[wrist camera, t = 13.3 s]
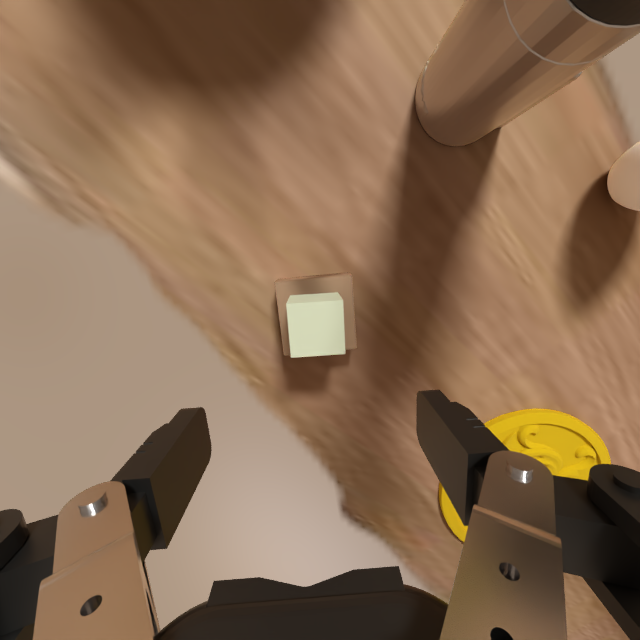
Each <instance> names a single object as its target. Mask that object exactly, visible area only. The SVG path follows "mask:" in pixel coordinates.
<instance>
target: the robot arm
mask: <svg viewBox="0 0 640 640" xmlns="http://www.w3.org/2000/svg"><path fill="white" fill-rule="evenodd" d="M639 33H640V0H465V2H464V4H463V5H462V7H461V9H460V10H459V12H458V13H457V15H456V17H455V18H454V20H453V21H452V23H451V25H450V26H449V28H448V29H447V31H446V33H445V34H444V36H443V38H442V39H441V41H440V42H439V44H438V46H437V47H436V49H435V50H434V52H433V54H432V55H431V57H430V59H429V60H428V62H427V63H426V65H425V67H424V69H423V71H422V73H421V75H420V77H419V80H418V83H417V87H416V95H415V103H416V111H417V115H418V118H419V121H420V123H421V125H422V127H423V129H424V130H425V131H426V132H427V133H428V135H429V136H431V137H432V138H433V139H435V140H436V141H437V142H440V143H442V144H444V145H449V146H464V145H467V144H470V143H473V142H475V141H477V140H478V139H480V138H482V137H483V136H485V135H486V134H488V133H489V132H491V131H492V130H494V129H495V128H501V127H503V126H504V125H506V124H507V123H509V122H510V121H512V120H513V119H515V118H516V117H518V116H520V115H521V114H523V113H524V112H526V111H527V110H529V109H530V108H532V107H534V106H535V105H537V104H538V103H540V102H541V101H543V100H544V99H546V98H547V97H549V96H551V95H552V94H554V93H555V92H557V91H558V90H560V89H561V88H563V87H564V86H566V85H568V84H569V83H571V82H572V81H574V80H575V79H577V78H578V77H579V76H580V74H581V73H582V71H583V70H585V69H586V68H588V67H589V66H591V65H592V64H594V63H595V62H597V61H598V60H600V59H601V58H603V57H604V56H606V55H607V54H609V53H610V52H612V51H613V50H614V49H616V48H617V47H619V46H621V45H622V44H624V43H625V42H626V41H628V40H630V39H631V38H633V37H634V36H636V35H637V34H639ZM417 436H418V440H419V444H420V446H421V448H422V450H423V452H424V453H425V455H426V457H427V459H428V461H429V463H430V464H431V466H432V468H433V470H434V472H435V473H436V475H437V477H438V479H439V481H440V483H441V484H442V486H443V488H444V490H445V492H446V494H447V495H448V497H449V499H450V501H451V503H452V505H453V506H454V508H455V510H456V512H457V514H458V515H459V517H460V519H461V521H462V523H463V525H464V526H468V529H467V533H466V537H465V541H464V545H463V549H462V553H461V557H460V561H459V565H458V569H457V573H456V577H455V581H454V584H453V588H452V592H451V596H450V600H449V604H447V603H445V602H444V601H442V600H441V599H439V598H437V597H436V596H434V595H432V594H430V593H428V592H426V591H424V590H421V589H418V588H415V587H412V586H409V585H404V584H403V581H402V577H401V573H400V569H399V566H395V567H382V568H370V569H357V570H352V571H349V572H346V573H344V574H341V575H338V576H336V577H333V578H330V579H328V580H325V581H322V582H320V583H317V584H315V585H312V586H308V587H301V586H296V585H292V584H287V583H283V582H278V581H274V580H269V579H264V578H260V577H258V578H246V579H233V580H221V581H214V582H213V586H212V589H211V592H210V596H209V599H208V601H206V602H204V603H202V604H199V605H197V606H195V607H193V608H192V609H190V610H188V611H187V612H185V613H183V614H182V615H180V616H179V617H177V618H176V619H175V620H173V621H172V622H171V623H169V624H168V625H167V626H166V627H164V628H163V629H162V630H161V631H160V627H159V623H158V618H157V613H156V608H155V604H154V600H153V595H152V591H151V586H150V581H149V576H148V572H147V567H146V564H145V558H146V556H147V554H148V553H149V551H150V550H156V549H167V547H168V545H169V543H170V541H171V539H172V537H173V535H174V533H175V531H176V529H177V527H178V525H179V523H180V521H181V518H182V516H183V514H184V512H185V510H186V508H187V506H188V504H189V502H190V500H191V498H192V496H193V494H194V492H195V490H196V488H197V485H198V484H199V481H200V479H201V477H202V475H203V473H204V471H205V469H206V467H207V465H208V463H209V461H210V457H211V440H210V435H209V429H208V424H207V418H206V413H205V410H204V409H203V408H202V407H200V408H188V409H187V408H186V409H181V410H179V412H178V413H177V414H176V415H175V416H174V418H173V419H172V420H171V421H170V422H169V423H168V424H164V425H163V426H162V427H160V428H159V429H157V430H156V431H154V432H153V433H152V434H151V435H150V436H149V437H148V438H147V440H146V441H145V442H144V444H143V445H141V446H140V448H139V449H138V450H137V451H136V454H133V456H132V457H131V458H130V459H129V460H128V461H127V462H126V464H125V465H124V466H123V467H122V468H121V469H120V471H119V472H118V473H117V474H116V475H115V476H114V477H113V479H112V480H111V481H110V482H104V483H101V484H98V485H95V486H92V487H90V488H88V489H86V490H84V491H83V492H81V493H79V494H78V495H76V496H75V497H74V498H72V499H71V500H70V501H69V502H68V503H67V504H66V505H65V506H64V507H63V508H62V510H61V511H60V513H59V515H56V516H52V517H49V518H46V519H43V520H39V521H36V522H32V523H29V524H26V522H25V520H24V517H23V514H22V512H21V511H20V510H17V509H9V510H3V511H0V640H567V627H566V610H565V594H564V578H563V572H565V573H569V574H573V575H578V576H582V577H583V578H584V580H585V581H586V582H587V584H588V585H589V586H590V588H591V589H592V590H593V592H594V593H595V594H596V596H597V597H598V598H599V599H600V601H601V602H602V603H603V605H604V606H605V607H606V609H607V610H608V611H609V613H610V614H611V615H612V617H613V618H614V619H615V620H616V622H617V623H618V624H619V626H620V627H621V628H622V630H623V631H624V632H625V634H626V635H627V636H628V637H629V639H630V640H640V472H638V471H635V470H632V469H629V468H626V467H623V466H618V465H613V464H598V465H594V466H593V467H591V469H590V471H589V477H588V480H582V479H575V478H569V477H562V476H556V475H552V473H551V472H550V470H549V469H548V468H547V467H546V466H545V465H544V464H542V463H541V462H540V461H538V460H536V459H534V458H533V457H530V456H528V455H526V454H523V453H519V452H514V451H510V450H509V449H508V448H507V447H506V446H505V445H504V444H503V443H502V442H501V441H500V440H499V439H498V438H497V437H496V436H495V435H494V434H493V433H492V432H491V431H490V430H489V429H488V428H487V427H485V425H484V424H483V423H482V422H481V421H480V420H478V418H477V417H476V416H475V415H474V414H473V413H472V412H471V411H470V409H468V408H466V407H464V406H463V405H461V404H459V403H457V402H450V401H449V400H448V399H447V397H446V396H445V395H444V394H443V393H442V392H441V391H440V390H428V391H418V393H417Z"/></svg>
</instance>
